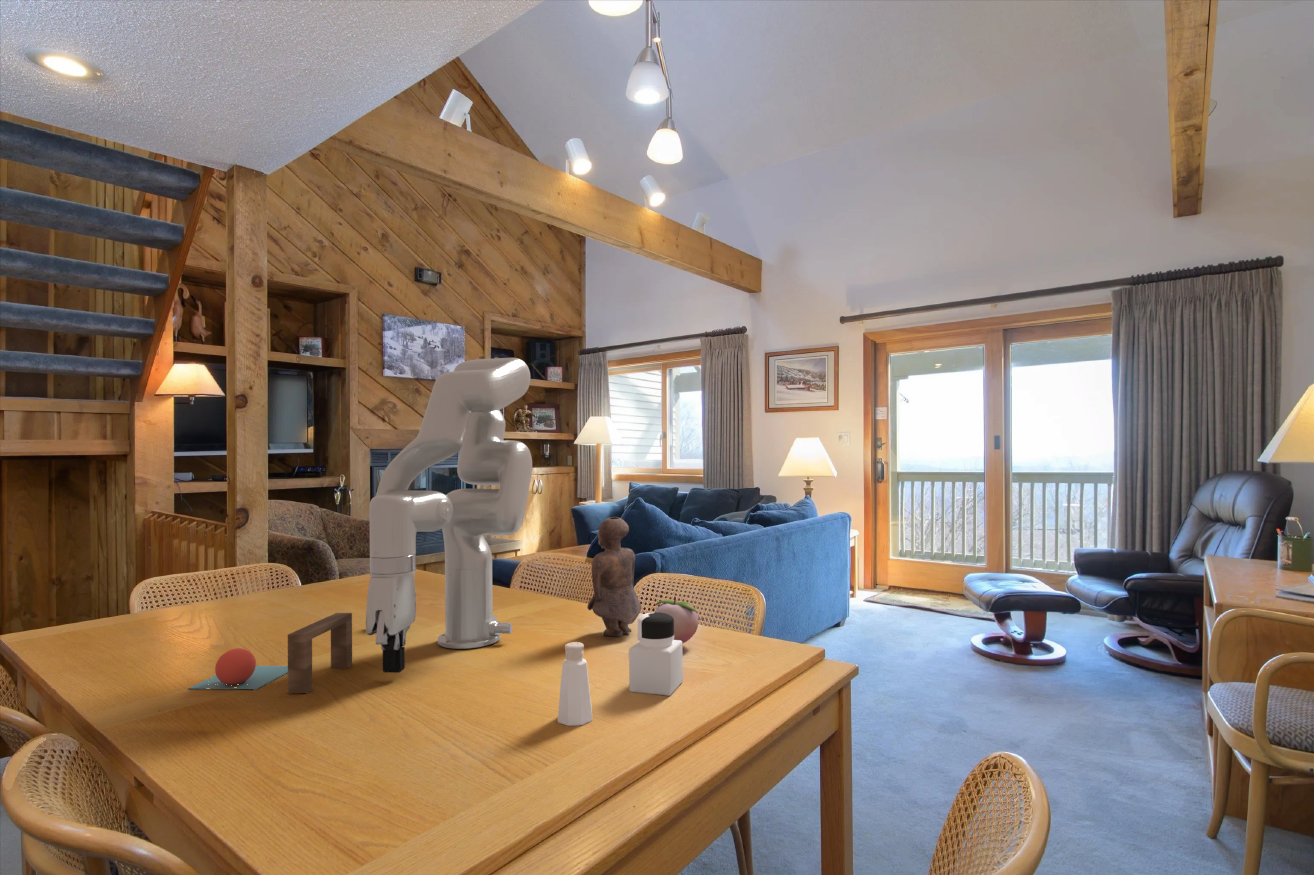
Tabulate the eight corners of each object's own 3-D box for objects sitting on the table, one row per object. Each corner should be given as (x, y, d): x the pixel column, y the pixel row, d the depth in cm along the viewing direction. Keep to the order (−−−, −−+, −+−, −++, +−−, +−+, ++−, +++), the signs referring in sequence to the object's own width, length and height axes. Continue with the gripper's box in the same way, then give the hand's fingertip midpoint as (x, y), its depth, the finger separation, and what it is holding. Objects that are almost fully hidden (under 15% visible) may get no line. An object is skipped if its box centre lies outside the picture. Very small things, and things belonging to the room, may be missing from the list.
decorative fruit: (645, 650, 135) (644, 599, 136) (660, 639, 143) (660, 591, 143) (690, 655, 132) (689, 602, 132) (703, 643, 140) (703, 594, 140)
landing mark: (298, 667, 128) (298, 666, 128) (256, 690, 116) (256, 688, 116) (236, 666, 128) (236, 665, 128) (188, 689, 116) (188, 687, 116)
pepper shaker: (563, 729, 98) (563, 651, 98) (551, 716, 103) (550, 642, 103) (599, 721, 100) (598, 645, 101) (585, 709, 105) (584, 637, 105)
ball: (221, 649, 121) (228, 683, 121) (205, 658, 115) (212, 693, 115) (257, 640, 122) (264, 674, 122) (243, 649, 116) (250, 684, 116)
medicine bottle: (683, 682, 117) (682, 611, 117) (670, 696, 110) (669, 621, 110) (643, 678, 119) (643, 608, 119) (628, 692, 113) (627, 618, 113)
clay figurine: (616, 624, 156) (615, 513, 156) (652, 630, 150) (651, 515, 150) (578, 637, 145) (577, 518, 145) (615, 645, 139) (614, 521, 140)
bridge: (352, 665, 128) (351, 612, 129) (305, 693, 113) (305, 634, 114) (336, 664, 129) (336, 612, 129) (287, 693, 114) (287, 634, 114)
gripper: (391, 558, 128) (392, 657, 128) (350, 573, 113) (350, 685, 113) (431, 558, 128) (431, 658, 127) (394, 573, 113) (395, 686, 112)
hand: (393, 670), depth 120 cm, fingers closed
